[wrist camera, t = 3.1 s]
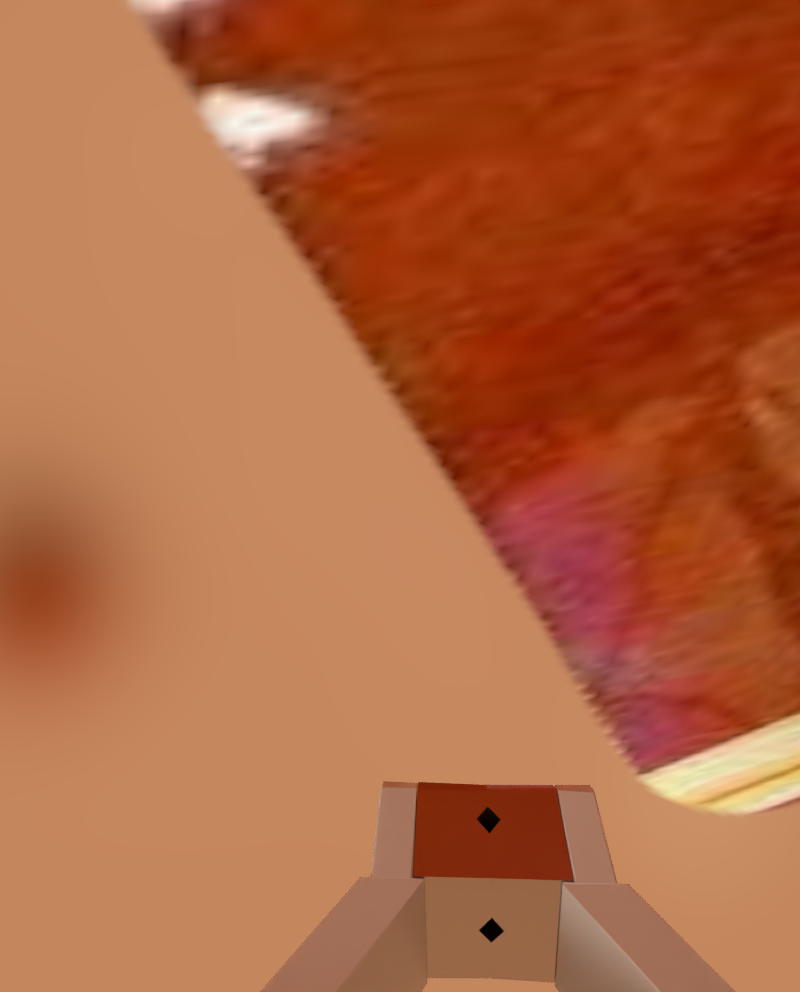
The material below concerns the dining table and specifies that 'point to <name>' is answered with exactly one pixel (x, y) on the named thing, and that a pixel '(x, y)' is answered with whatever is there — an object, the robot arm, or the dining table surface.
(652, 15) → the dining table surface
